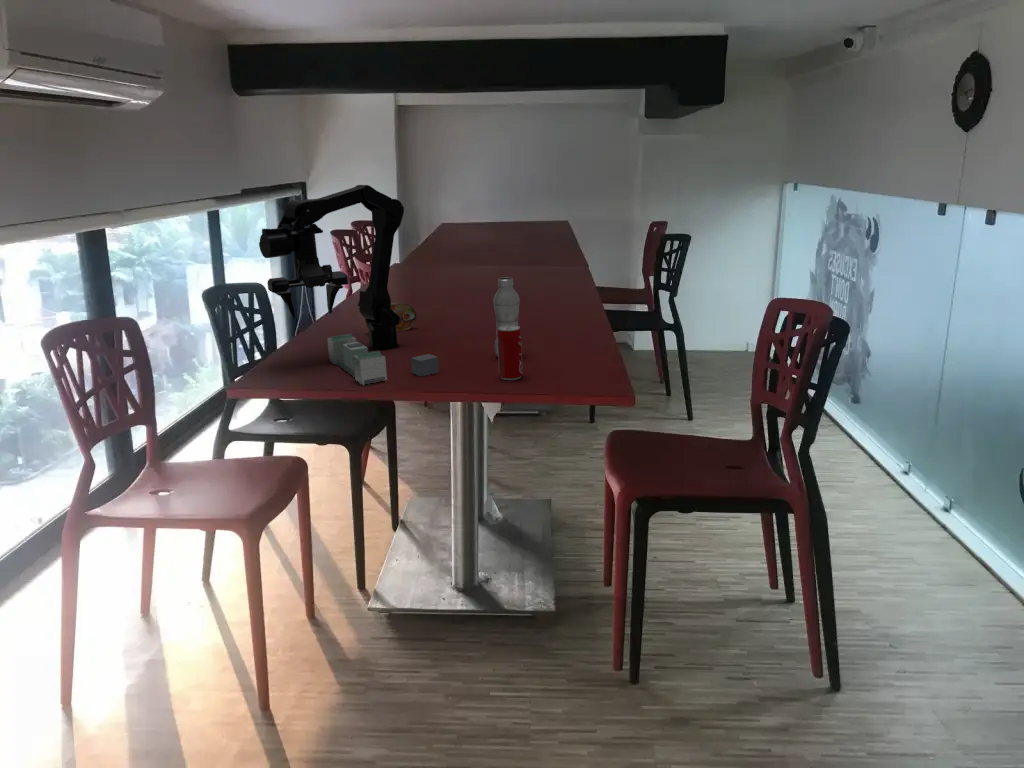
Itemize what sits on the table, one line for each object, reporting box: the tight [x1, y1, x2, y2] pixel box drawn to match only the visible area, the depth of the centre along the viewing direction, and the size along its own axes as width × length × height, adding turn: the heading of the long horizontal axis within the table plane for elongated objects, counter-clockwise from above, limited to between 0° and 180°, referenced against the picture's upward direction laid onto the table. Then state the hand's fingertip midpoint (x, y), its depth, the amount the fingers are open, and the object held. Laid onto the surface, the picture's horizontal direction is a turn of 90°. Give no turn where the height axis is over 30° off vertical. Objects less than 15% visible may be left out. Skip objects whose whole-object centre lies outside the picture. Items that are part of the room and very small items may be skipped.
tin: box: [364, 302, 417, 333], centre depth 228 cm, size 15×3×8 cm, turn 114°
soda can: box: [497, 325, 524, 381], centre depth 178 cm, size 6×6×12 cm
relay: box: [410, 353, 440, 377], centre depth 185 cm, size 5×4×4 cm
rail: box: [327, 333, 388, 386], centre depth 189 cm, size 6×26×7 cm, turn 29°
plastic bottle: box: [492, 276, 521, 357], centre depth 194 cm, size 6×7×20 cm
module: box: [342, 341, 369, 370], centre depth 189 cm, size 4×7×5 cm, turn 29°
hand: (312, 315), depth 195 cm, fingers open, 9 cm apart
